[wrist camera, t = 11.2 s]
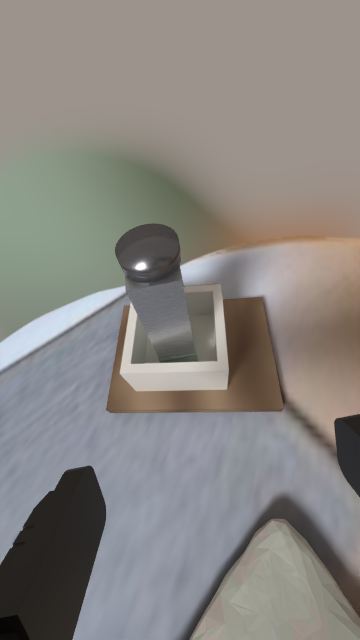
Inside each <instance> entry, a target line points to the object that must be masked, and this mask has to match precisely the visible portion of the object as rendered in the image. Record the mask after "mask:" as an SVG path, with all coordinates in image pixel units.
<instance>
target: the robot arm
mask: <svg viewBox="0 0 360 640" xmlns="http://www.w3.org/2000/svg"><path fill="white" fill-rule="evenodd" d="M334 426H335V436H336V446H337V457H338V462H339V466H340V468H341V471H342V473H343V475H344V477H345V478H346V480H347V481H348V483H349V484H350V485H351V487H352V488H353V489H354V490H355V492H356V493H357V494H358V496H359V497H360V414H357V415H352V416H347V417H342V418H337V419H336V420H335V422H334ZM105 521H106V505H105V501H104V498H103V495H102V492H101V489H100V486H99V483H98V480H97V478H96V475H95V472H94V469H93V468H92V467H91V466H85V467H80V468H75V469H70V470H67V471H65V472H64V474H63V475H62V477H61V479H60V481H59V483H58V484H57V486H56V488H55V490H54V491H50V492H49V493H48V494H47V495H46V496H45V497H44V498H43V499H42V500H41V501H40V502H39V504H38V505H37V506H36V507H35V508H34V509H33V511H32V513H31V514H30V516H29V518H28V519H27V521H26V523H25V524H24V526H23V530H22V531H20V533H19V535H18V536H17V538H16V540H15V541H14V543H13V547H12V548H10V550H9V551H8V553H7V555H6V556H5V558H4V560H3V561H2V563H1V565H0V640H72V639H73V635H74V632H75V628H76V625H77V621H78V618H79V614H80V611H81V607H82V604H83V600H84V597H85V593H86V589H87V586H88V582H89V579H90V575H91V572H92V568H93V565H94V561H95V558H96V554H97V551H98V547H99V544H100V540H101V537H102V533H103V530H104V526H105Z"/></svg>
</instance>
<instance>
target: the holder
mask: <svg viewBox="0 0 360 640" xmlns="http://www.w3.org/2000/svg"><path fill="white" fill-rule="evenodd" d="M184 292H185V298H186V303H187V309H188V314H189V315H190V320H191V326H192V331H193V336H194V342H195V347H196V352H197V358H198V362H176V363H159V360H158V356H157V354H156V352H155V350H154V348H153V345H152V343H151V341H150V339H149V337H148V335H147V333H146V331H145V329H144V327H143V325H142V323H141V321H140V319H139V317H138V315H137V313H136V311H135V309H134V307H133V305H132V303H131V304H130V310H129V317H128V323H127V330H126V336H125V342H124V349H123V355H122V362H121V368H120V375H121V376H122V377H123V378H124V379H125V380H126V381H127V382H128V383H129V384H130V385H131V386H132V387H133V389H134V390H135V391H181V390H227V385H228V375H229V366H228V355H227V344H226V333H225V322H224V311H223V300H222V289H221V284H210V285H195V286H184Z"/></svg>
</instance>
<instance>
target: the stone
mask: <svg viewBox="0 0 360 640" xmlns="http://www.w3.org/2000/svg"><path fill="white" fill-rule="evenodd" d="M189 640H360V617H359V616H358V615H357V613H356V612H355V610H354V609H353V607H352V606H351V604H350V603H349V601H348V600H347V598H346V597H345V596H344V594H343V593H342V591H341V589H340V588H339V586H338V585H337V583H336V582H335V580H334V578H333V577H332V575H331V574H330V572H329V571H328V569H327V568H326V567H325V565H324V564H323V563H322V561H321V560H320V559H319V557H318V556H317V555H316V553H315V552H314V550H313V549H312V548H311V546H310V545H309V544H308V542H307V541H306V540H305V539H304V538H303V537H302V536H301V535H300V534H299V533H298V532H297V531H296V530H295V529H294V528H293V527H292V526H291V525H290V524H289V523H288V522H287V521H286V520H285V519H271V520H270V521H268V522H267V523H266V524H265V525H264V526H262V527H261V528H260V529H259V530H257V531H256V532H255V534H254V536H253V538H252V539H251V541H250V543H249V545H248V546H247V548H246V550H245V552H244V553H243V554H242V555H241V557H240V558H239V559H238V560H237V561H236V563H235V564H234V565H233V566H232V568H231V569H230V570H229V571H228V573H227V574H226V575H225V577H224V579H223V581H222V583H221V584H220V586H219V588H218V590H217V592H216V593H215V595H214V597H213V599H212V600H211V602H210V604H209V605H208V607H207V609H206V611H205V612H204V614H203V616H202V617H201V619H200V621H199V623H198V624H197V626H196V628H195V630H194V632H193V634H192V636H191V637H190V639H189Z"/></svg>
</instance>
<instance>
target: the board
mask: <svg viewBox="0 0 360 640" xmlns="http://www.w3.org/2000/svg"><path fill="white" fill-rule="evenodd" d="M129 310H130V305H128V306H124V309H123V315H122V320H121V326H120V332H119V338H118V344H117V349H116V355H115V361H114V367H113V373H112V379H111V384H110V390H109V396H108V402H107V408H106V410H107V411H109V412H110V413H151V412H268V411H282V410H283V409H284V406H283V401H282V396H281V391H280V386H279V380H278V375H277V370H276V365H275V360H274V355H273V350H272V345H271V340H270V335H269V330H268V325H267V320H266V315H265V310H264V305H263V300H262V297H259V298H242V299H226V300H223V311H224V322H225V333H226V344H227V355H228V366H229V375H228V385H227V390H181V391H135V390H134V389H133V387H132V386H131V385H130V384H129V383H128V382H127V381H126V380H125V379H124V378H123V377H122V376H121V375H120V368H121V362H122V355H123V349H124V342H125V336H126V330H127V323H128V317H129Z"/></svg>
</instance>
